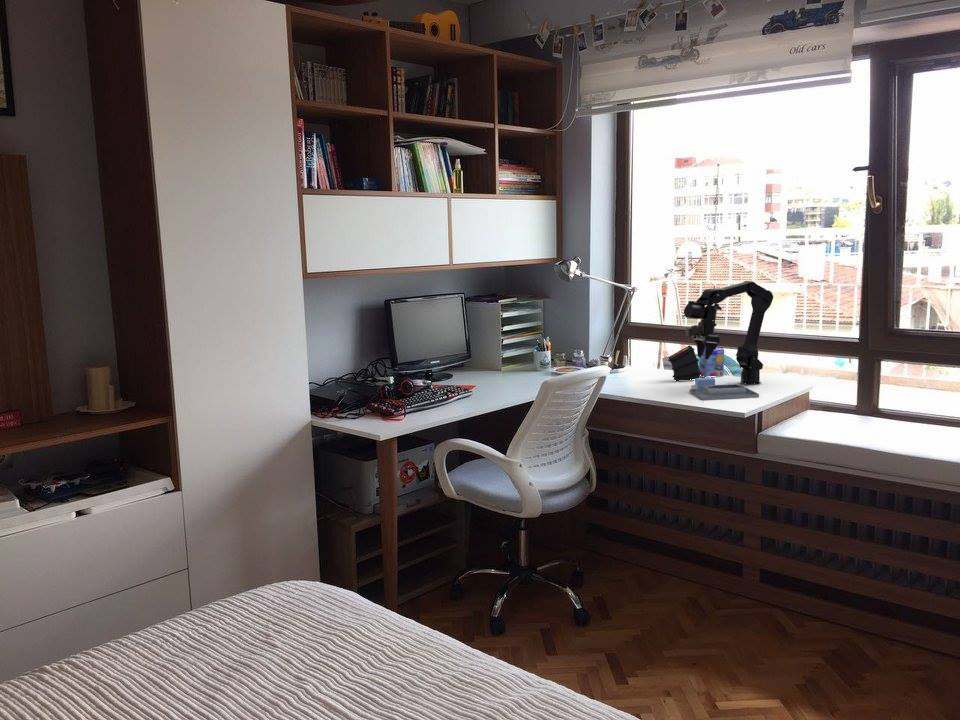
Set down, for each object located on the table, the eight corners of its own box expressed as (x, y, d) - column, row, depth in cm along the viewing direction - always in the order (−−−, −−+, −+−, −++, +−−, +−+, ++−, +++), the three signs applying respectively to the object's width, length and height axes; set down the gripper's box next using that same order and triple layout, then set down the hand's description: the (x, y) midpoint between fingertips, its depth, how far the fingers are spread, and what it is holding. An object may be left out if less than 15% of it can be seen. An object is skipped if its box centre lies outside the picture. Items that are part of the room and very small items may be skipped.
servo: (711, 388, 332) (711, 375, 331) (715, 390, 328) (715, 377, 327) (690, 389, 332) (690, 376, 331) (693, 391, 328) (693, 378, 327)
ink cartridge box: (706, 378, 354) (705, 345, 352) (698, 376, 359) (698, 344, 357) (724, 376, 357) (724, 343, 355) (716, 374, 363) (716, 342, 360)
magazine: (707, 375, 351) (692, 345, 348) (681, 390, 350) (666, 360, 347) (703, 374, 355) (689, 344, 352) (677, 389, 354) (663, 359, 351)
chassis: (743, 389, 327) (743, 381, 326) (759, 397, 311) (759, 388, 310) (689, 392, 326) (689, 384, 325) (702, 400, 310) (702, 392, 310)
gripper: (682, 316, 336) (677, 354, 338) (695, 319, 318) (690, 358, 319) (708, 319, 337) (703, 357, 338) (723, 322, 318) (717, 361, 320)
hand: (702, 358), depth 329 cm, fingers open, 9 cm apart
